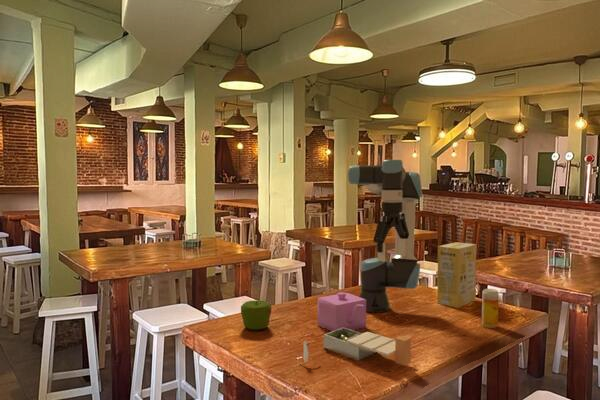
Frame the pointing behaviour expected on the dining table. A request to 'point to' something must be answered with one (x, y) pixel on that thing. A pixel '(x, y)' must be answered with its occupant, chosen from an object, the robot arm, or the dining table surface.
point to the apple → (256, 314)
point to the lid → (385, 346)
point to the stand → (306, 351)
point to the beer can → (490, 308)
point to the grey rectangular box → (345, 343)
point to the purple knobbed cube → (342, 311)
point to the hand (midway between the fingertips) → (391, 258)
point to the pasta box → (456, 274)
